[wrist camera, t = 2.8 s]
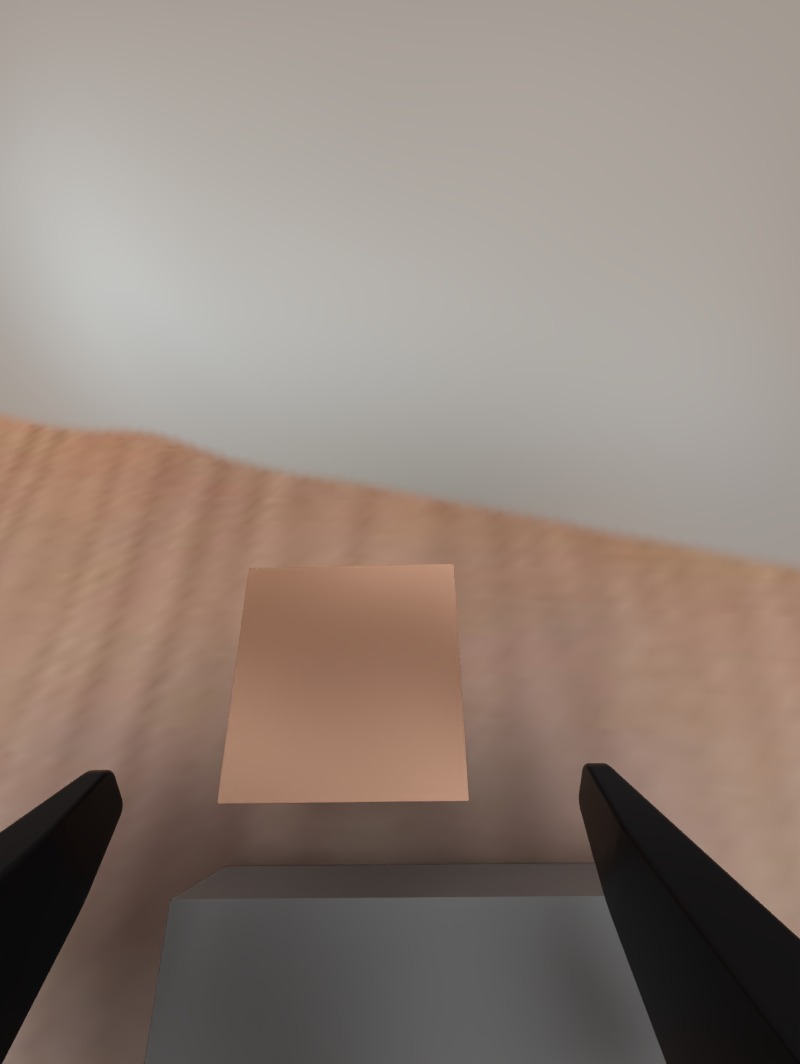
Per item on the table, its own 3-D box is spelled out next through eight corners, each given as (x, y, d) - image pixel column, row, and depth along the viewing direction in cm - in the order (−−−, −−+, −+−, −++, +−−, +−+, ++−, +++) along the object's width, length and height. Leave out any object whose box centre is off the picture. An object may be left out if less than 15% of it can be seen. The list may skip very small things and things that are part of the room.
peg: (439, 775, 17) (468, 800, 8) (319, 776, 17) (216, 803, 8) (434, 653, 19) (453, 564, 10) (326, 655, 19) (248, 568, 10)
